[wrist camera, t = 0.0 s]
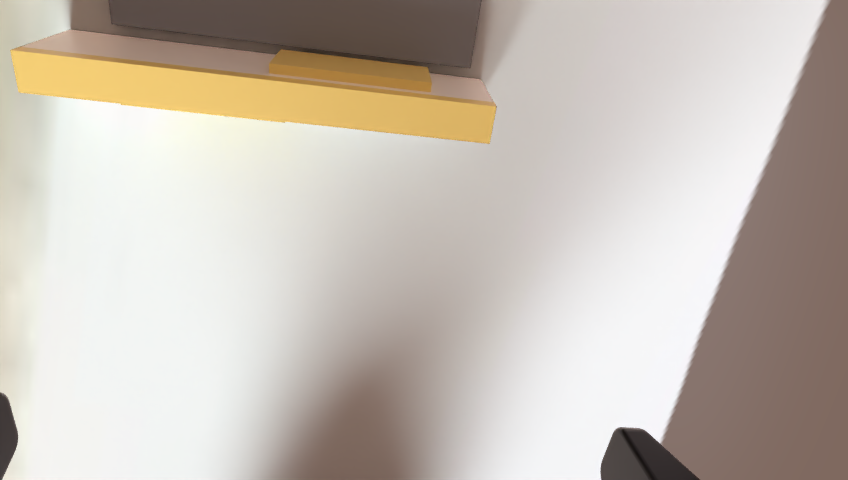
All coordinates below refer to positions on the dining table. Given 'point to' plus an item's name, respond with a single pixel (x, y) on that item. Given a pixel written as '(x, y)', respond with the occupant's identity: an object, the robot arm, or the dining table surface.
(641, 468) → the robot arm
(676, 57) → the dining table surface
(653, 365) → the dining table surface
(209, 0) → the shelf mat
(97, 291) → the dining table surface
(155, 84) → the rail
